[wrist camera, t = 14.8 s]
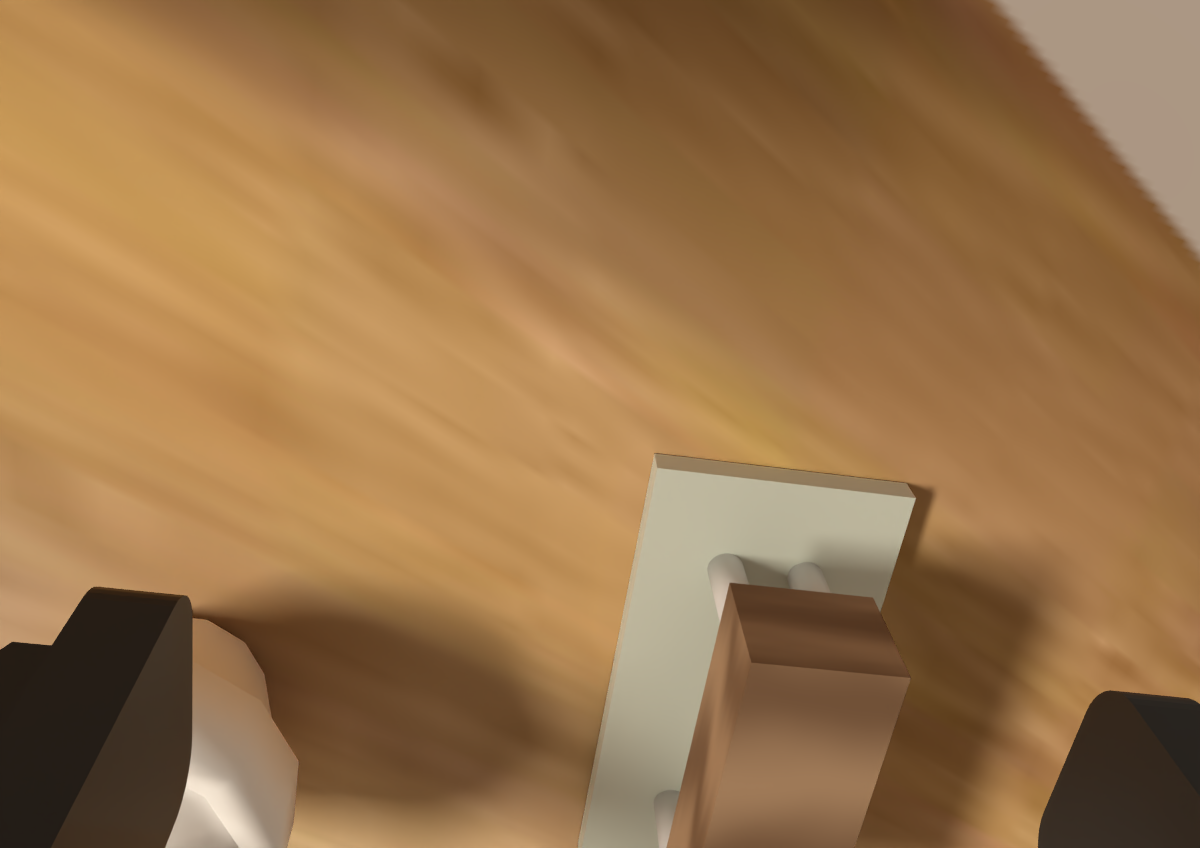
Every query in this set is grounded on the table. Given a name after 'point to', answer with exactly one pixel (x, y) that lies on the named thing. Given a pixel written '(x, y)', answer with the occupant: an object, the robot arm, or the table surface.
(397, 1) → the table surface
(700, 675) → the peg stand
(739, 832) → the walnut shelf board
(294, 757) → the potted plant
